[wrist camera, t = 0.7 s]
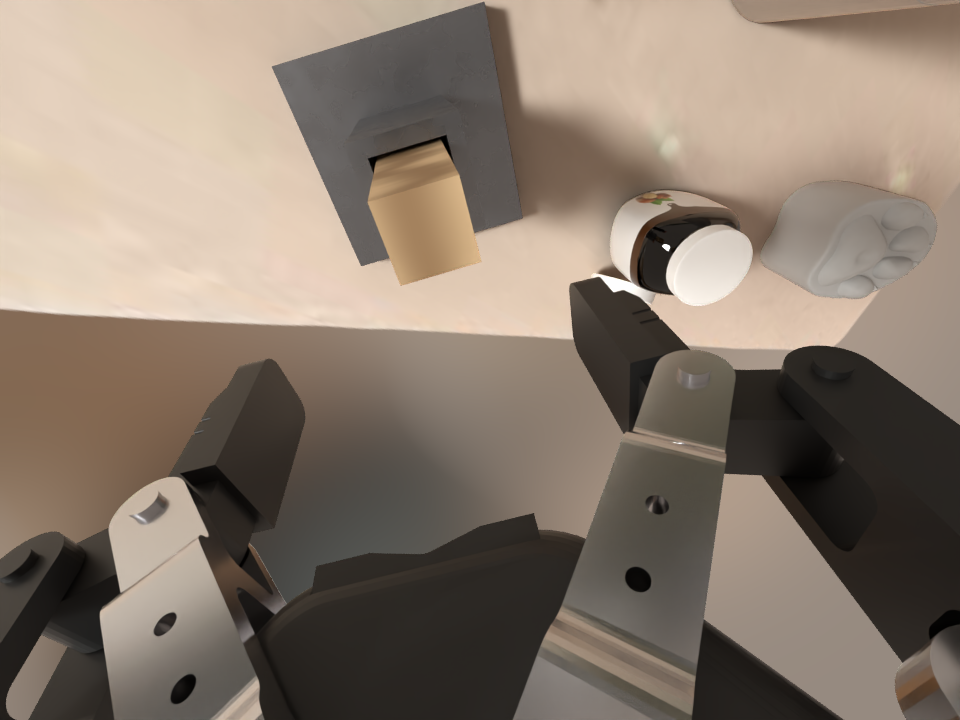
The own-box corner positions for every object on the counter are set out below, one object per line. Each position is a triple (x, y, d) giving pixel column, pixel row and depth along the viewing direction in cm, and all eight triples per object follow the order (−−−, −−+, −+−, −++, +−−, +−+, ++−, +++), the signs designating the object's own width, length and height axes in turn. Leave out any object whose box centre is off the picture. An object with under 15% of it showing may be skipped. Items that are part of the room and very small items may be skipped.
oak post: (430, 118, 33) (459, 173, 17) (444, 171, 36) (481, 262, 20) (381, 133, 33) (367, 202, 17) (399, 184, 36) (400, 286, 20)
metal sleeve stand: (479, 4, 31) (525, -26, 20) (517, 211, 41) (562, 269, 30) (278, 66, 32) (212, 69, 20) (362, 258, 41) (349, 332, 30)
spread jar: (700, 181, 42) (785, 216, 33) (676, 283, 49) (742, 335, 40) (586, 195, 41) (641, 235, 32) (578, 297, 48) (622, 354, 39)
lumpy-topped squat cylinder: (795, 178, 44) (870, 200, 37) (895, 184, 46) (984, 206, 39) (750, 271, 50) (807, 305, 43) (841, 272, 52) (909, 305, 45)
